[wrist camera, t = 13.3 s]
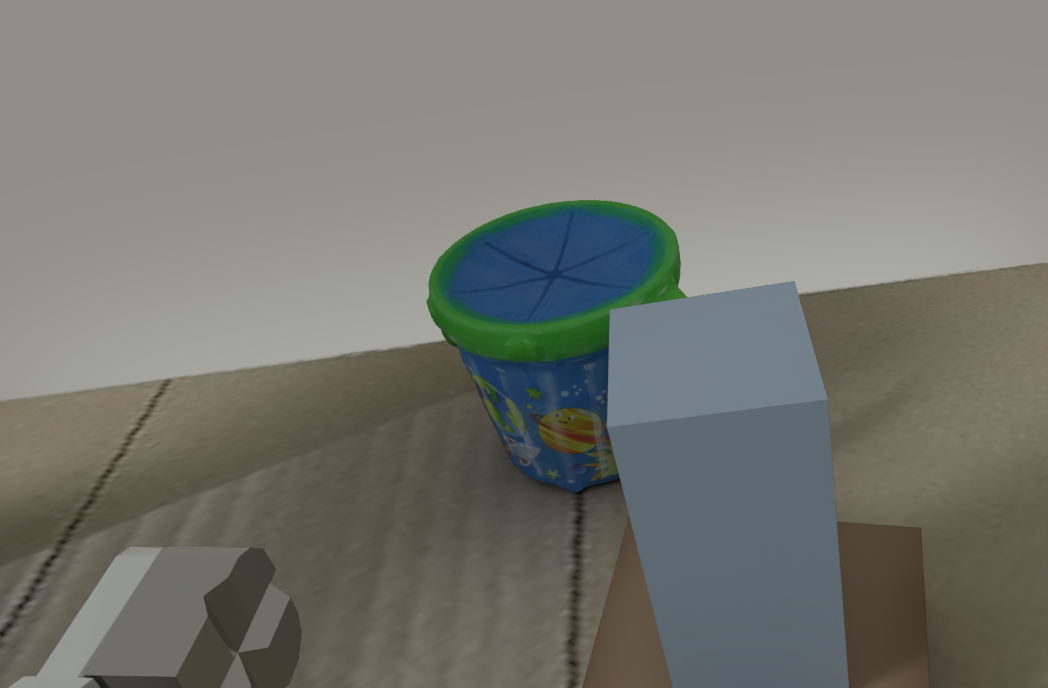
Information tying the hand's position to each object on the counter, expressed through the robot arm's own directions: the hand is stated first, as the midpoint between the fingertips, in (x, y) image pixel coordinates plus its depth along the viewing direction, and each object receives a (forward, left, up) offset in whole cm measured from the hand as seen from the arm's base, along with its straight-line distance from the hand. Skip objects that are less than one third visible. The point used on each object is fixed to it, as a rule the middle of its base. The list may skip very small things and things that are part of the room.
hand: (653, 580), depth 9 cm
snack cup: (-18, +21, -22) cm, 35 cm away
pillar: (-5, +12, -18) cm, 22 cm away
